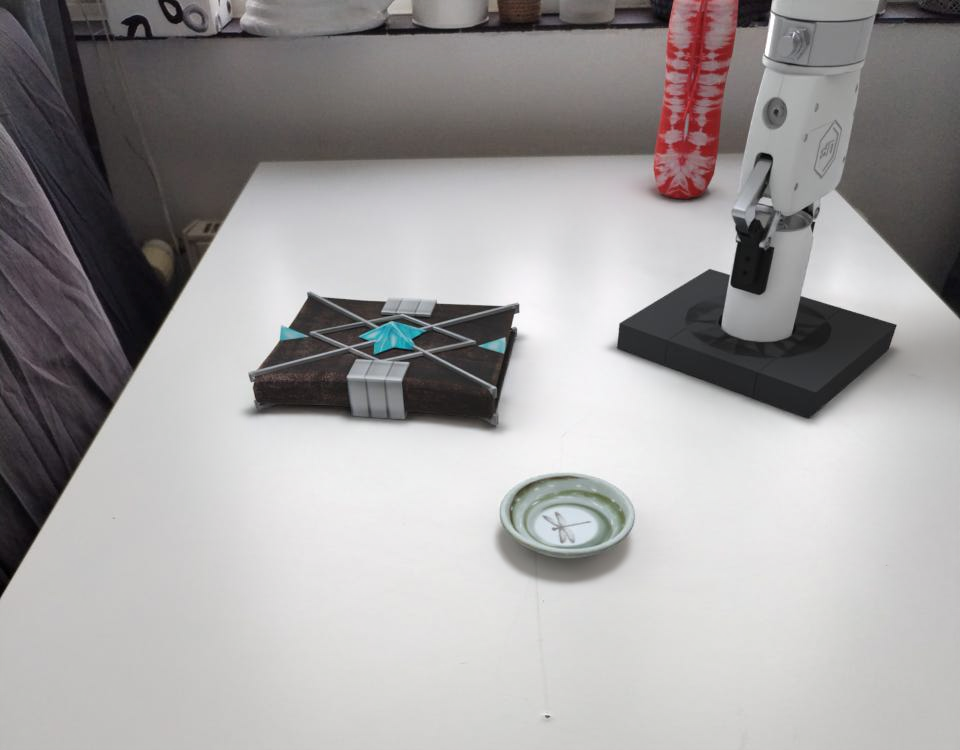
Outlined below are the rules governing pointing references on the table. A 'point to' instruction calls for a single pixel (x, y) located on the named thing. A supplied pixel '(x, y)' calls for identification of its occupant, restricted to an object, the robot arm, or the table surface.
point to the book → (390, 357)
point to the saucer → (567, 515)
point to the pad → (757, 346)
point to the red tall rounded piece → (693, 94)
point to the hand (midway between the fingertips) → (768, 274)
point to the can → (773, 285)
